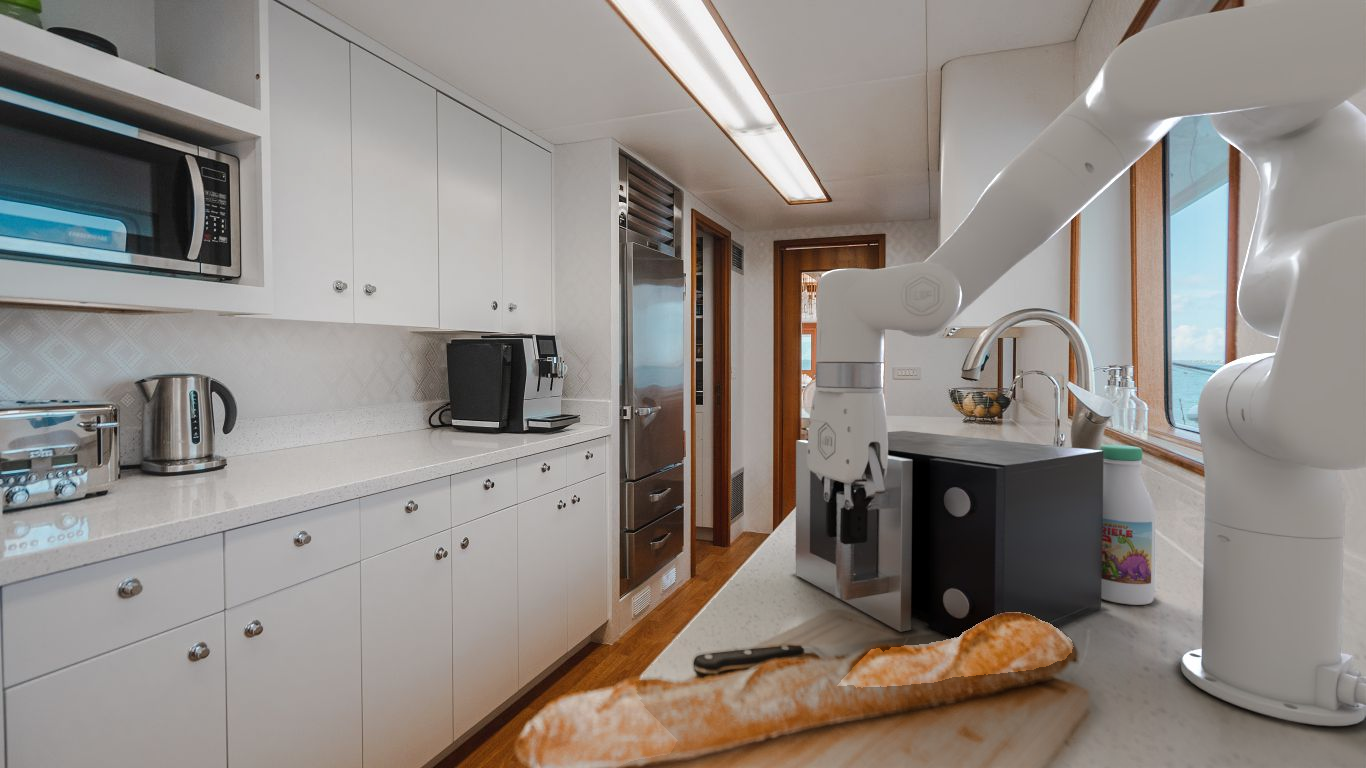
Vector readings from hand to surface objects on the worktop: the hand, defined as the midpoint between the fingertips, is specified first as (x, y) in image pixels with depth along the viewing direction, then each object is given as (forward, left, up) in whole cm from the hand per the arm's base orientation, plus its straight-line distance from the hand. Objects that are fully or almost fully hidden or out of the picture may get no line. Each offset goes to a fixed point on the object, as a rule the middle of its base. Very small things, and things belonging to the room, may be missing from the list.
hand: (846, 537), depth 72 cm
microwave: (+2, -20, -11) cm, 23 cm away
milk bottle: (-12, -39, -11) cm, 42 cm away
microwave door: (+7, -4, -11) cm, 13 cm away
